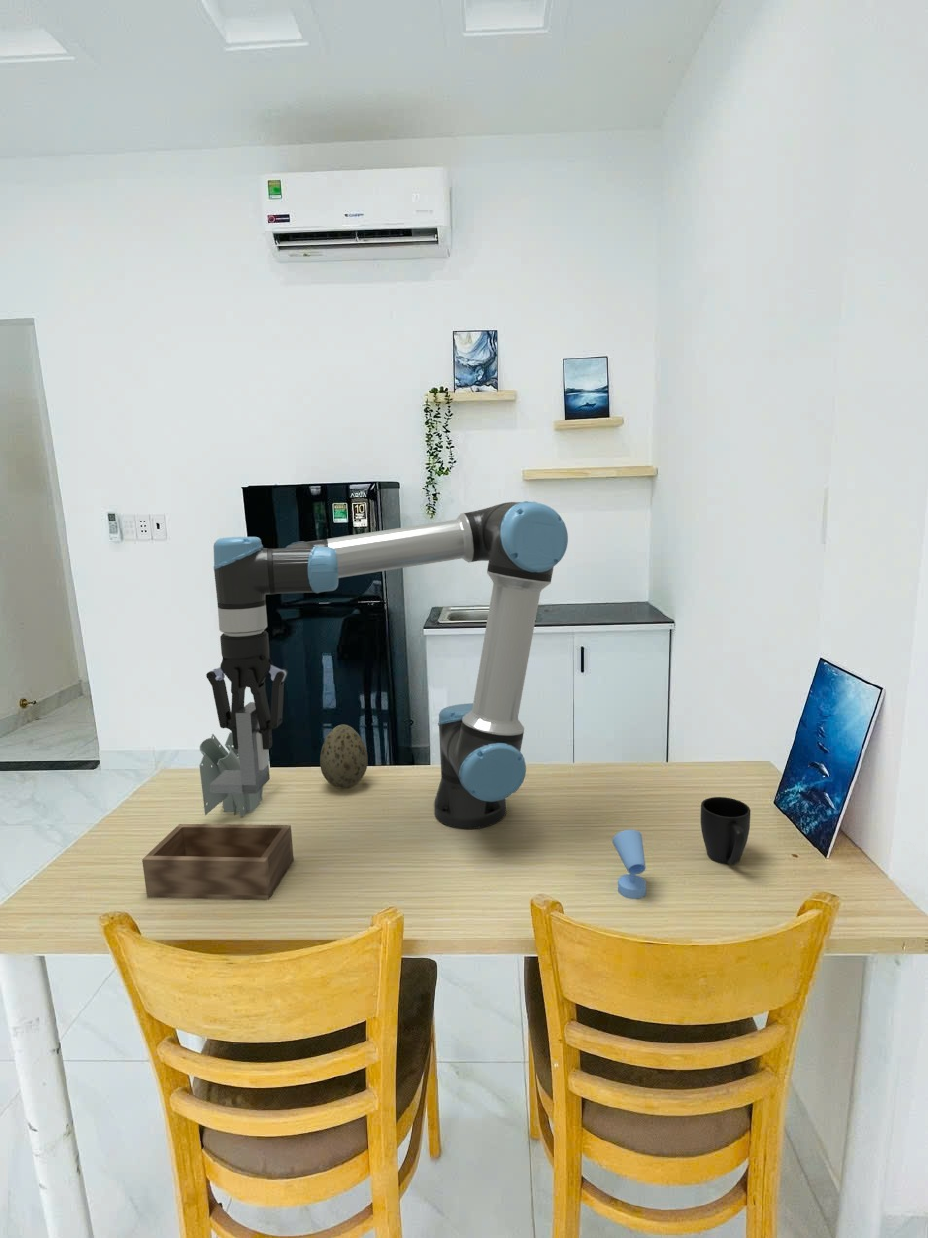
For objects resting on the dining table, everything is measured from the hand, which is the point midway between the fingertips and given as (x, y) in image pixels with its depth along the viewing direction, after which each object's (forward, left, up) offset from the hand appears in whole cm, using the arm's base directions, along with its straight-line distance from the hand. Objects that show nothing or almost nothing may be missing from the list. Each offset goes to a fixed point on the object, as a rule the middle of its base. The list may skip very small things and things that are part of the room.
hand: (254, 766), depth 113 cm
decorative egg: (-4, -38, -21) cm, 44 cm away
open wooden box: (+8, 0, -21) cm, 23 cm away
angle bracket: (+3, 0, -3) cm, 4 cm away
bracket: (+16, -27, -21) cm, 38 cm away
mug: (-81, -8, -21) cm, 84 cm away
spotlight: (-63, +1, -21) cm, 67 cm away
